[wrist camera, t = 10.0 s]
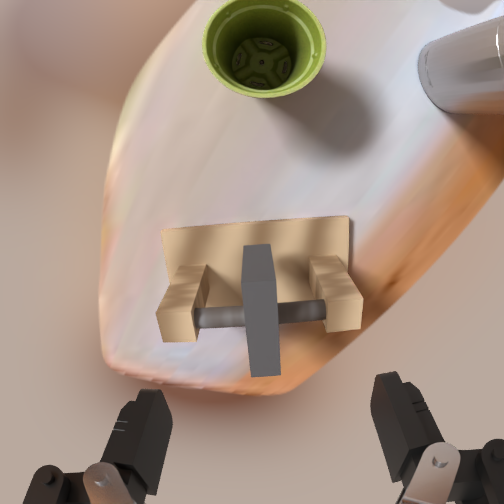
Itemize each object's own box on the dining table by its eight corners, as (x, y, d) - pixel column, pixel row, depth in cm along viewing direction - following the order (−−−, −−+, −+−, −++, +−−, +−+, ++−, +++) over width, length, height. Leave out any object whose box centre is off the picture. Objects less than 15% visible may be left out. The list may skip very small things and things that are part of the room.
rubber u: (270, 243, 30) (276, 280, 23) (275, 324, 33) (280, 375, 26) (243, 245, 30) (240, 282, 23) (251, 326, 33) (251, 377, 26)
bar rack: (346, 215, 34) (384, 250, 24) (343, 304, 38) (370, 361, 27) (162, 229, 34) (128, 269, 24) (179, 315, 38) (157, 375, 28)
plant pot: (300, 115, 30) (316, 108, 22) (207, 100, 30) (192, 89, 22) (313, 34, 27) (333, 4, 19) (223, 19, 26) (214, -15, 18)
